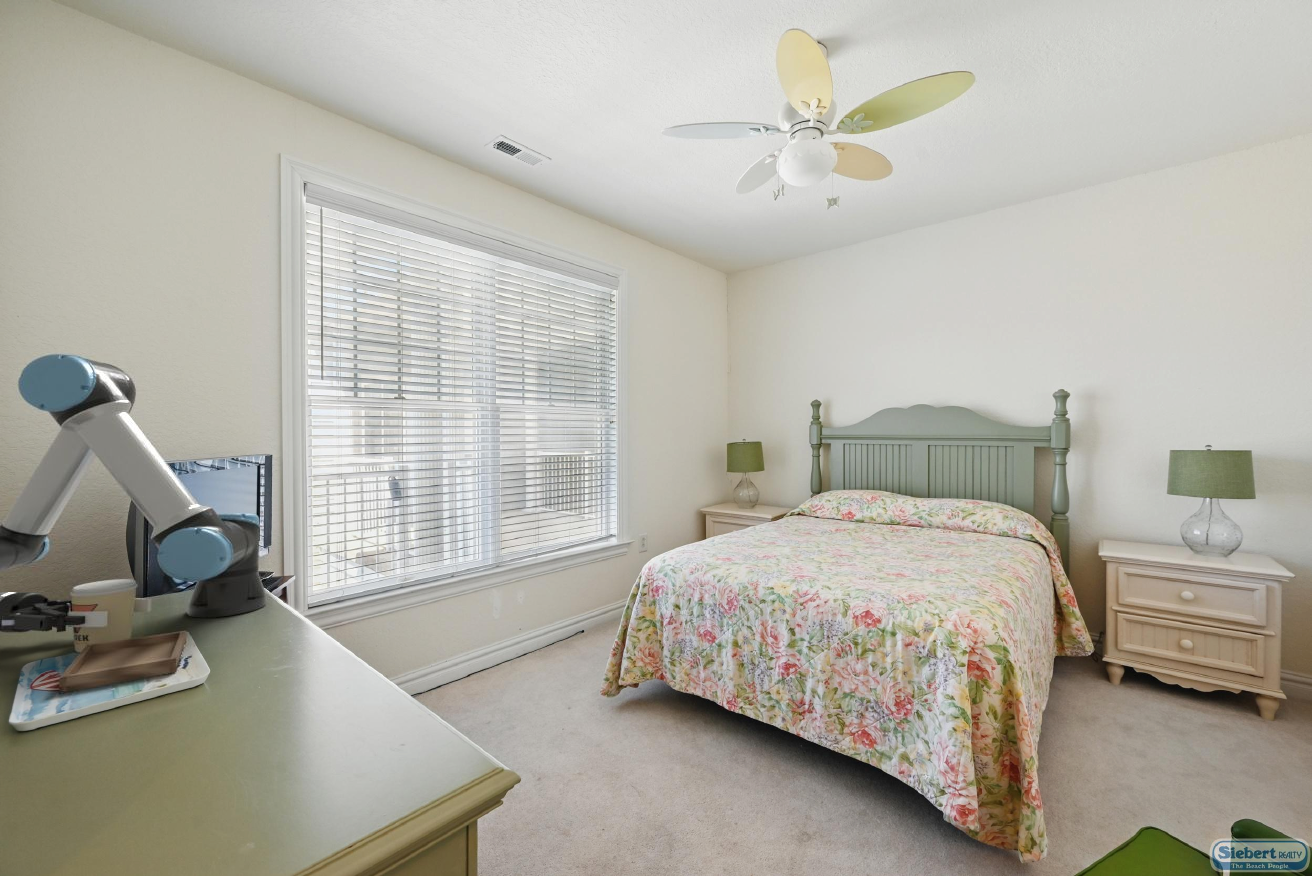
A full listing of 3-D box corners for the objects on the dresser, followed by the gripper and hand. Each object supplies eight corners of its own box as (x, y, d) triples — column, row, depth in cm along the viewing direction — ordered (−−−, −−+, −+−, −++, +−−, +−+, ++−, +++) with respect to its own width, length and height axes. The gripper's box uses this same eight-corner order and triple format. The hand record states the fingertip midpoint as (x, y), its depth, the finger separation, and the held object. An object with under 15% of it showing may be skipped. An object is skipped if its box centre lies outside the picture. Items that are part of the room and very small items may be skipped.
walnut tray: (185, 643, 110) (186, 630, 110) (175, 672, 95) (176, 658, 95) (86, 658, 101) (86, 645, 101) (58, 693, 87) (59, 677, 87)
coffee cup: (60, 648, 106) (62, 586, 107) (124, 634, 115) (126, 576, 115) (79, 657, 102) (81, 592, 102) (144, 642, 110) (145, 581, 111)
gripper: (67, 615, 119) (173, 614, 119) (-60, 651, 97) (71, 650, 98) (68, 580, 119) (174, 580, 119) (-58, 608, 97) (72, 608, 98)
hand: (128, 611), depth 109 cm, fingers closed on coffee cup, 9 cm apart
